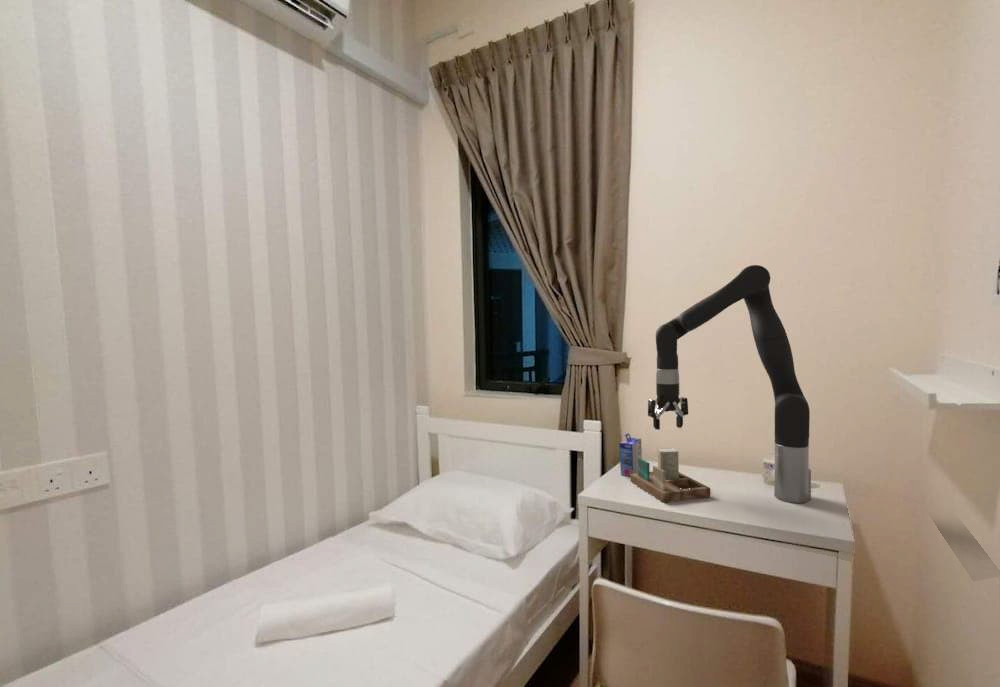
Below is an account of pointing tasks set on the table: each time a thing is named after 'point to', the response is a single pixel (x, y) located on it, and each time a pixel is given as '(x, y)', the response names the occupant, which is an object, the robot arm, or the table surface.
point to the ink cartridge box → (630, 455)
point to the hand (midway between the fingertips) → (668, 428)
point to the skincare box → (669, 462)
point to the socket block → (667, 484)
